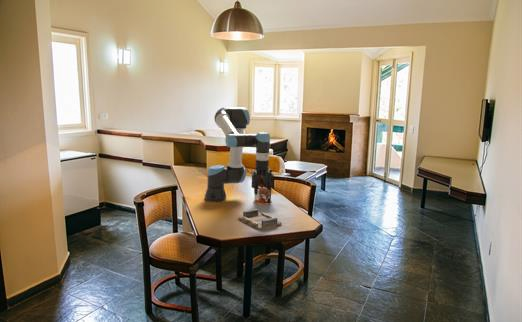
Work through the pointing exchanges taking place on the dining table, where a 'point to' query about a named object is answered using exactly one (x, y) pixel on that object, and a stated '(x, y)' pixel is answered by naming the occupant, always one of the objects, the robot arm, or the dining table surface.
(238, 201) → the dining table surface
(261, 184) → the vessel
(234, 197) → the dining table surface
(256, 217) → the chassis bay
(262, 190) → the bull figurine
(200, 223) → the dining table surface
